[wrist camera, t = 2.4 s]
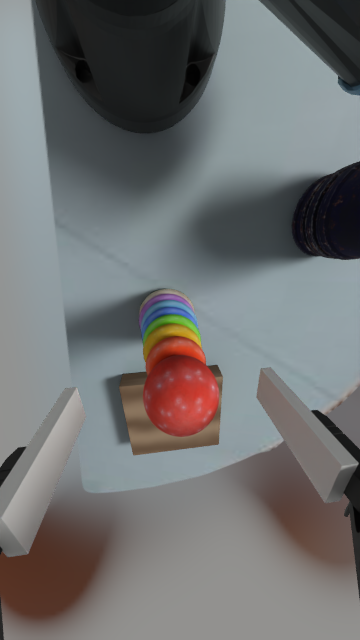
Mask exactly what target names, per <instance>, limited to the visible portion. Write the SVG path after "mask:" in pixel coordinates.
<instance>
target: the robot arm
mask: <svg viewBox="0 0 360 640" xmlns="http://www.w3.org/2000/svg"><path fill="white" fill-rule="evenodd" d="M259 1H260V2H261V3H262V4H263V5H264V6H266V7H267V8H268V9H269V10H270V11H271V12H272V13H273V14H274V15H275V16H276V17H277V18H278V19H279V20H280V21H281V22H282V23H283V24H284V25H285V26H287V27H288V28H289V29H290V30H291V31H292V32H293V33H294V34H295V35H296V36H297V37H298V38H299V39H300V40H301V41H302V42H303V43H304V44H305V45H306V46H308V47H309V48H310V49H311V50H312V51H313V52H314V53H315V54H316V55H317V56H318V57H319V58H320V59H321V60H322V61H323V62H324V63H325V64H326V65H327V66H329V67H330V68H331V69H332V70H333V71H334V72H335V73H336V74H337V75H338V84H339V85H340V86H341V88H342V89H343V90H344V91H345V92H347V93H349V94H352V95H360V0H259ZM225 2H226V0H36V3H37V7H38V10H39V13H40V16H41V19H42V22H43V24H44V27H45V30H46V32H47V35H48V37H49V39H50V42H51V44H52V46H53V48H54V50H55V52H56V54H57V56H58V58H59V60H60V61H61V63H62V65H63V67H64V69H65V71H66V72H67V74H68V76H69V78H70V80H71V81H72V83H73V84H74V86H75V87H76V89H77V90H78V92H79V93H80V94H81V96H82V97H83V98H84V99H85V100H86V102H87V103H88V104H89V105H90V106H91V107H92V108H93V109H94V110H95V111H96V112H97V113H99V114H100V115H101V116H102V117H104V118H105V119H106V120H108V121H109V122H111V123H113V124H115V125H116V126H118V127H121V128H123V129H126V130H129V131H133V132H139V133H152V132H158V131H162V130H165V129H167V128H169V127H171V126H173V125H175V124H176V123H178V122H179V121H181V120H182V119H183V118H184V117H185V116H186V115H187V114H188V113H189V112H190V111H191V110H192V109H193V108H194V106H195V105H196V103H197V102H198V100H199V99H200V97H201V96H202V94H203V92H204V90H205V88H206V85H207V83H208V81H209V78H210V75H211V72H212V69H213V65H214V62H215V59H216V55H217V52H218V48H219V44H220V40H221V35H222V29H223V22H224V14H225ZM257 399H258V400H259V402H260V403H261V405H262V406H263V408H264V409H265V411H266V413H267V414H268V416H269V417H270V419H271V420H272V422H273V423H274V425H275V426H276V428H277V430H278V431H279V433H280V434H281V436H282V437H283V439H284V440H285V442H286V443H287V445H288V447H289V448H290V450H291V451H292V453H293V454H294V456H295V457H296V459H297V460H298V462H299V464H300V465H301V467H302V468H303V470H304V471H305V473H306V474H307V476H308V478H309V479H310V481H311V482H312V484H313V485H314V487H315V488H316V490H317V491H318V493H319V495H320V496H321V498H322V499H323V501H324V502H325V503H329V502H335V501H340V500H341V498H342V496H343V494H345V495H346V496H347V498H348V499H349V500H350V502H349V504H348V506H347V508H346V510H345V513H344V516H346V517H348V515H349V513H350V520H351V528H352V536H353V546H354V554H355V563H356V572H357V580H358V589H359V598H360V449H359V448H358V447H357V446H356V445H355V444H354V443H353V442H352V441H351V440H350V439H349V438H348V437H347V436H346V435H345V434H343V432H342V431H341V430H340V429H339V428H338V427H336V425H335V424H334V423H333V422H332V421H331V420H330V419H329V418H328V417H327V416H325V415H324V414H322V413H321V412H319V411H318V410H312V411H310V410H309V409H308V408H307V406H306V405H305V404H304V403H303V402H302V401H301V400H300V399H299V398H298V397H297V396H296V395H295V393H294V392H293V391H292V390H291V389H290V388H289V387H288V386H287V385H286V384H285V383H284V381H283V380H282V379H281V378H280V377H279V376H278V375H277V374H276V373H275V372H274V371H273V370H272V368H271V367H270V368H261V370H260V377H259V384H258V390H257ZM85 418H86V415H85V412H84V409H83V405H82V402H81V399H80V396H79V393H78V389H77V387H73V388H65V389H64V391H63V392H62V394H61V395H60V397H59V398H58V400H57V401H56V403H55V405H54V406H53V408H52V409H51V411H50V412H49V414H48V415H47V417H46V418H45V420H44V422H43V423H42V424H41V426H40V427H39V429H38V431H37V432H36V434H35V435H34V437H33V438H32V440H31V441H30V443H29V444H28V446H27V447H20V448H17V449H16V450H15V451H14V452H13V453H12V454H11V455H10V456H9V457H8V458H7V459H6V460H5V462H4V463H3V464H2V466H1V467H0V554H1V552H2V551H3V552H4V553H5V554H6V556H7V557H12V556H18V555H24V554H28V552H29V550H30V548H31V545H32V543H33V540H34V538H35V536H36V533H37V531H38V529H39V526H40V524H41V521H42V519H43V517H44V515H45V512H46V510H47V507H48V505H49V503H50V500H51V498H52V496H53V493H54V491H55V489H56V486H57V484H58V482H59V479H60V477H61V474H62V472H63V470H64V467H65V465H66V463H67V460H68V458H69V455H70V453H71V451H72V448H73V446H74V444H75V441H76V439H77V437H78V434H79V432H80V430H81V427H82V425H83V423H84V420H85ZM0 640H4V637H3V623H2V612H1V599H0Z"/></svg>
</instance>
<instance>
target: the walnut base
mask: <svg viewBox="0 0 360 640" xmlns="http://www.w3.org/2000/svg"><path fill="white" fill-rule="evenodd" d="M207 367H208V368H209V369H210V370H211V372H212V373H213V375H214V376H215V379H216V381H217V384H218V388H219V405H218V409H217V412H216V414H215V416H214V418H213V420H212V421H211V422H210V423H209V424H208V426H207V427H205V428H204V429H203V430H202V431H200V432H198V433H196V434H194V435H191V436H186V437H176V436H172V435H169V434H166V433H164V432H162V431H161V430H159V429H158V428H157V427H156V426H155V425H154V424H153V423H152V422H151V420H150V419H149V417H148V415H147V413H146V410H145V407H144V402H143V390H144V385H145V381H146V379H147V376H148V375H147V372H139V373H129V374H123V375H122V378H121V382H120V385H119V389H120V394H121V398H122V403H123V408H124V413H125V418H126V423H127V427H128V432H129V437H130V442H131V447H132V452H133V455H140V454H148V453H156V452H164V451H171V450H179V449H187V448H195V447H202V446H210V445H218V444H219V430H220V414H221V398H222V382H223V376H222V374H221V372H220V370H219V367H218V365H213V366H207Z"/></svg>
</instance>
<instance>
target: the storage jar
mask: <svg viewBox="0 0 360 640" xmlns="http://www.w3.org/2000/svg"><path fill="white" fill-rule="evenodd" d="M292 234H293V238H294V241H295V243H296V245H297V247H298V248H299V249H300V250H301V251H303V252H304V253H306V254H308V255H312V256H322V257H326V258H334V259H341V260H350V259H359V258H360V162H357V163H353V164H351V165H349V166H346V167H344V168H342V169H340V170H338V171H336V172H335V173H333V174H330V175H327V176H325V177H323V178H321V179H319V180H317V181H316V182H315V183H313V184H312V185H311V186H310V187H309V188H308V189H307V190H306V191H305V193H304V194H303V195H302V197H301V198H300V200H299V202H298V204H297V206H296V209H295V211H294V215H293V219H292Z"/></svg>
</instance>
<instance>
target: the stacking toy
mask: <svg viewBox="0 0 360 640" xmlns="http://www.w3.org/2000/svg"><path fill="white" fill-rule="evenodd" d="M139 326H140V330H141V333H142V340H143V347H144V348H143V355H144V360H145V362H146V372H147V375H148V376H147V379H146V381H145V385H144V390H143V402H144V407H145V410H146V413H147V415H148V417H149V419H150V420H151V422H152V423H153V424H154V425H155V426H156V427H157V428H158V429H159V430H161V431H162V432H164V433H166V434H169V435H172V436H176V437H186V436H191V435H194V434H196V433H198V432H200V431H202V430H203V429H204V428H205V427H207V426H208V424H209V423H210V422H211V421H212V420H213V418H214V416H215V414H216V412H217V409H218V405H219V388H218V384H217V381H216V379H215V376H214V375H213V373H212V372H211V370H210V369H209V368H208V367H207V366H206V359H205V355H204V352H203V351H202V346H201V337H200V333H199V330H198V324H197V319H196V316H195V310H194V307H193V304H192V302H191V301H190V299H189V298H188V297H187V296H186V295H184V294H183V293H181V292H179V291H177V290H173V289H161V290H158V291H155V292H153V293H151V294H150V295H149V296H148V297H147V298H146V299H145V300H144V301H143V303H142V305H141V307H140V311H139Z"/></svg>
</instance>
